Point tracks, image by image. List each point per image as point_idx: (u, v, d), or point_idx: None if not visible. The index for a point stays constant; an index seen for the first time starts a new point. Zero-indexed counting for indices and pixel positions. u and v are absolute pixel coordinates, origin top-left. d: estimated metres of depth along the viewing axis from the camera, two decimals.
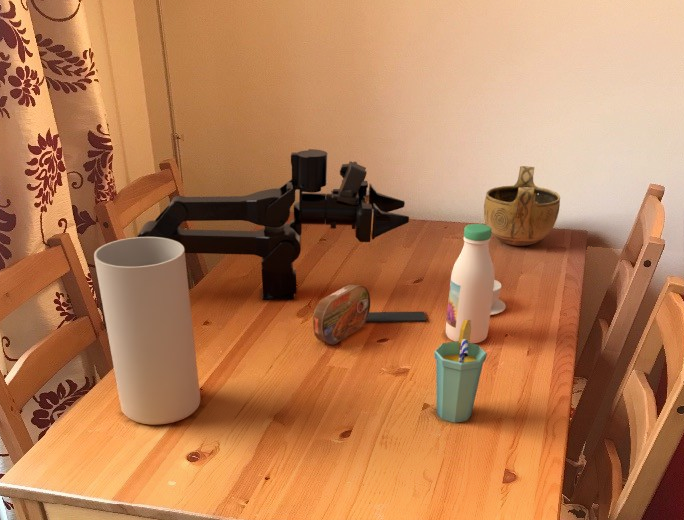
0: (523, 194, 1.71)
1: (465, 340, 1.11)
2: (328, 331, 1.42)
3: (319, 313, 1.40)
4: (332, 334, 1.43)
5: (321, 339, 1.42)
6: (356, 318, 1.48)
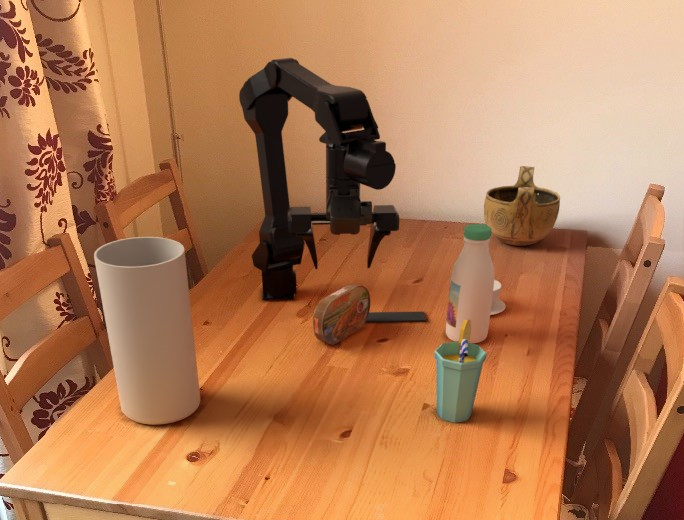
0: (523, 194, 1.71)
1: (465, 340, 1.11)
2: (328, 331, 1.42)
3: (319, 313, 1.40)
4: (332, 334, 1.43)
5: (321, 339, 1.42)
6: (356, 318, 1.48)
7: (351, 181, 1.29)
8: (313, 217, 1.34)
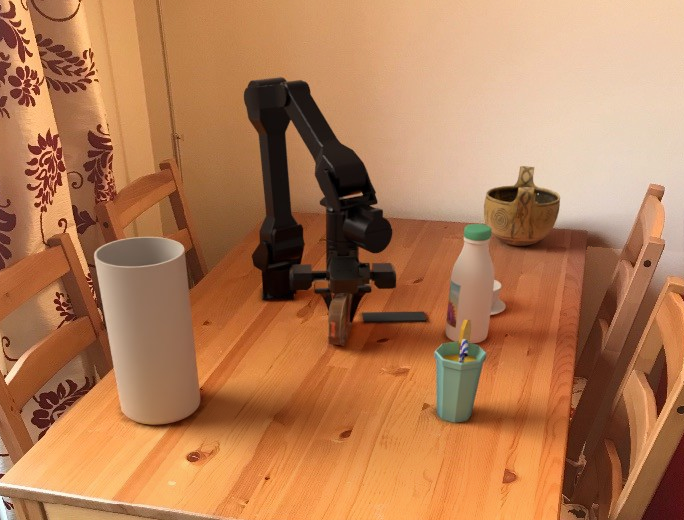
0: (523, 194, 1.71)
1: (465, 340, 1.11)
2: (341, 333, 1.41)
3: (335, 316, 1.38)
4: (342, 335, 1.43)
5: (335, 342, 1.41)
6: (349, 316, 1.48)
7: (350, 243, 1.35)
8: (314, 275, 1.40)
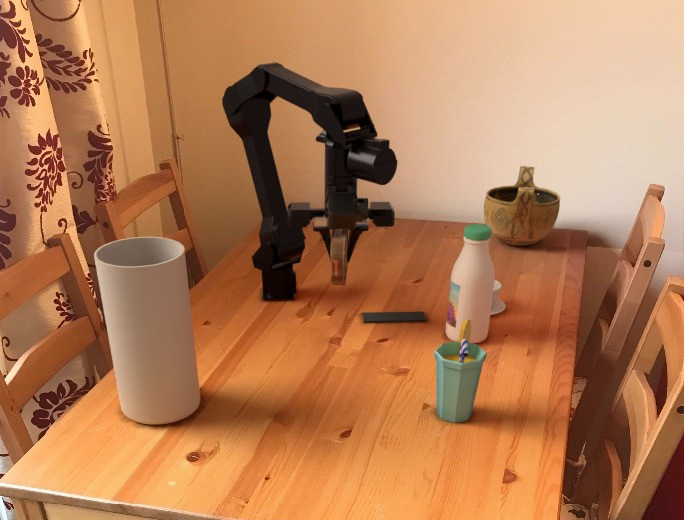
0: (523, 194, 1.71)
1: (465, 340, 1.11)
2: None
3: (338, 254, 1.38)
4: None
5: (337, 281, 1.41)
6: (345, 258, 1.48)
7: (348, 178, 1.35)
8: (312, 212, 1.40)
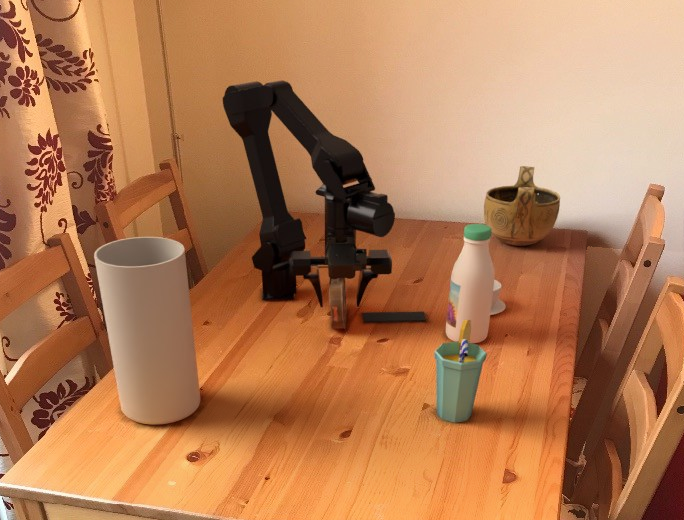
0: (523, 194, 1.71)
1: (465, 340, 1.11)
2: None
3: (336, 301, 1.44)
4: None
5: (337, 326, 1.47)
6: None
7: (347, 230, 1.41)
8: (313, 261, 1.46)
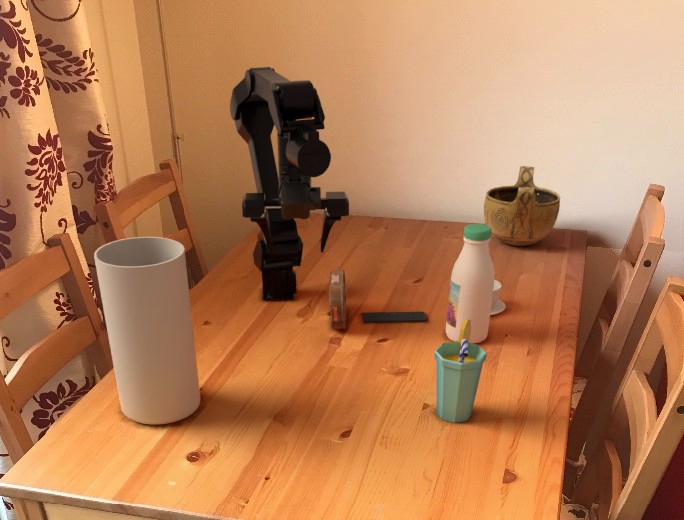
0: (523, 194, 1.71)
1: (465, 340, 1.11)
2: None
3: (336, 301, 1.44)
4: None
5: (337, 326, 1.47)
6: None
7: None
8: (267, 203, 1.40)
